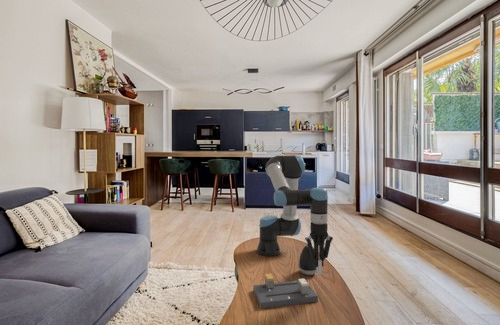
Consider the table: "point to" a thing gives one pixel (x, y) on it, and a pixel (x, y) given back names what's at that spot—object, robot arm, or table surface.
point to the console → (282, 295)
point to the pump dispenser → (306, 262)
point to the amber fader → (269, 281)
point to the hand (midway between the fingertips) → (318, 273)
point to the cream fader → (303, 286)
